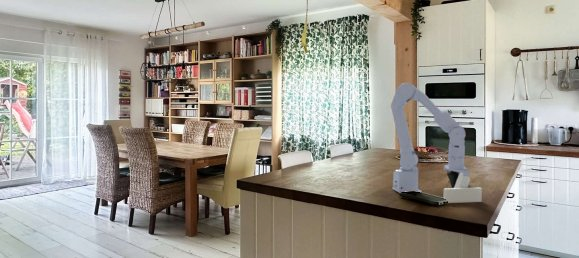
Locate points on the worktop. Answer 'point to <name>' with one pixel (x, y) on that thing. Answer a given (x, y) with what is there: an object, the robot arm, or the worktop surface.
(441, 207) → the worktop surface
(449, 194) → the wall panel
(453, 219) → the worktop surface
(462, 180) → the white wedge bracket
